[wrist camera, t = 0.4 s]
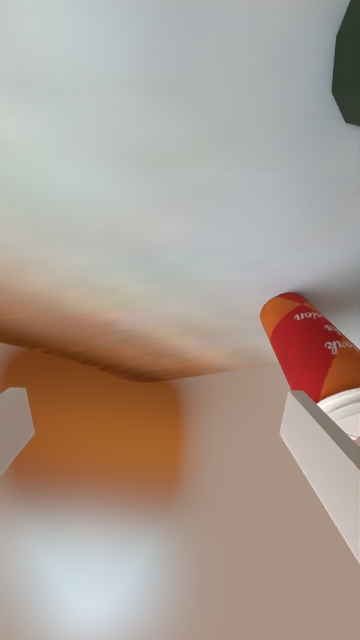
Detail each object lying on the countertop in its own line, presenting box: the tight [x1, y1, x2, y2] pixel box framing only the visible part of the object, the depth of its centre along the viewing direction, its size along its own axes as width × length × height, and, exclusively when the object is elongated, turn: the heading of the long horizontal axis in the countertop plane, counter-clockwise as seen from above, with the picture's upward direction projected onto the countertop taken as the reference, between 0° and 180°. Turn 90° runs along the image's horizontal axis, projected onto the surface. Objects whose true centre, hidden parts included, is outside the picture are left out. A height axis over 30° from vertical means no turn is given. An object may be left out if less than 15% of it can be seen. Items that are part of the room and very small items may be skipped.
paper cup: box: [260, 293, 360, 440], centre depth 21 cm, size 8×8×14 cm
